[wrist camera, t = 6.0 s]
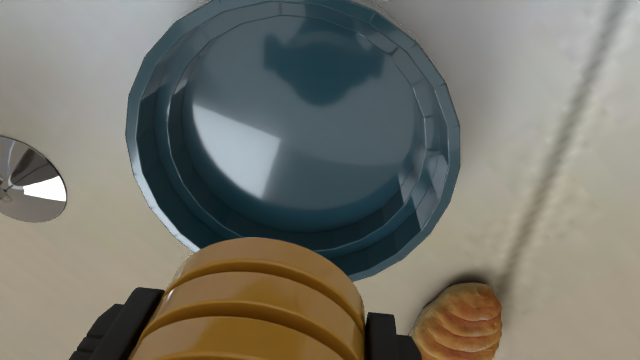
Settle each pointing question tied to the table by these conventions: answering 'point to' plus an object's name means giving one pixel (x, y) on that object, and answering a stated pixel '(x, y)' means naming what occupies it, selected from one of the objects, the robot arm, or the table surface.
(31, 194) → the wine glass
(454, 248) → the table surface
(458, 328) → the pastry
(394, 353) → the robot arm
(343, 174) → the bowl
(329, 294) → the tan ridged cylinder
